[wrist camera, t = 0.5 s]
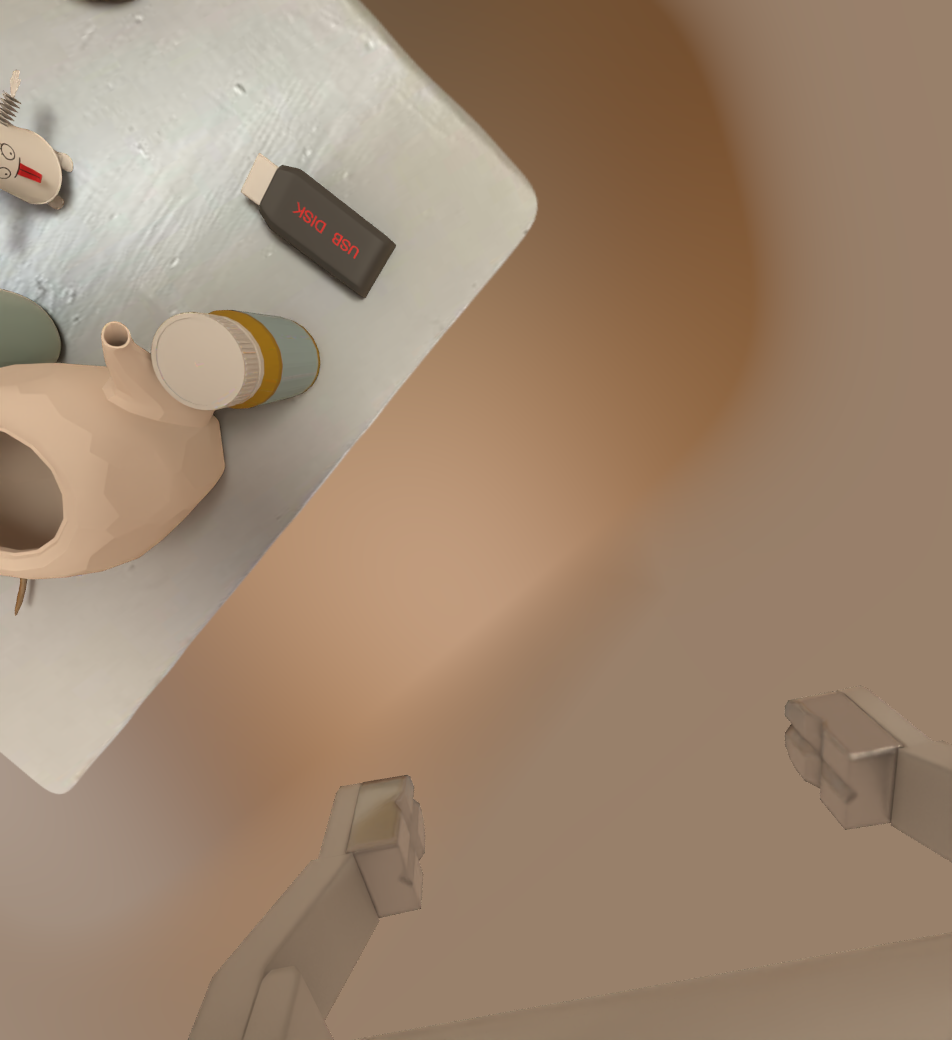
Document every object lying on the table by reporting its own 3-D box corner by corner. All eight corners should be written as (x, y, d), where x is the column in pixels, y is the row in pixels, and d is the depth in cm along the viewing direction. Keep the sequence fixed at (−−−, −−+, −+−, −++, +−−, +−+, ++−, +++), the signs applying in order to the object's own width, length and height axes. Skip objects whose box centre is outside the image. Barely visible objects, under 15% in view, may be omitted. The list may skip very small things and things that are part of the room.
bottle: (243, 384, 47) (141, 401, 33) (252, 308, 45) (146, 290, 31) (315, 404, 48) (245, 429, 34) (328, 329, 46) (258, 322, 31)
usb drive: (365, 298, 45) (358, 295, 42) (246, 209, 42) (230, 200, 40) (396, 245, 43) (391, 238, 41) (275, 150, 41) (260, 137, 38)
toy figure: (69, 264, 44) (-24, 246, 36) (5, 228, 43) (-105, 201, 35) (107, 123, 41) (13, 67, 32) (38, 81, 40) (-76, 13, 32)
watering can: (324, 397, 48) (228, 427, 30) (162, 568, 54) (3, 677, 36) (192, 265, 44) (-6, 209, 26) (35, 465, 50) (-211, 529, 32)
